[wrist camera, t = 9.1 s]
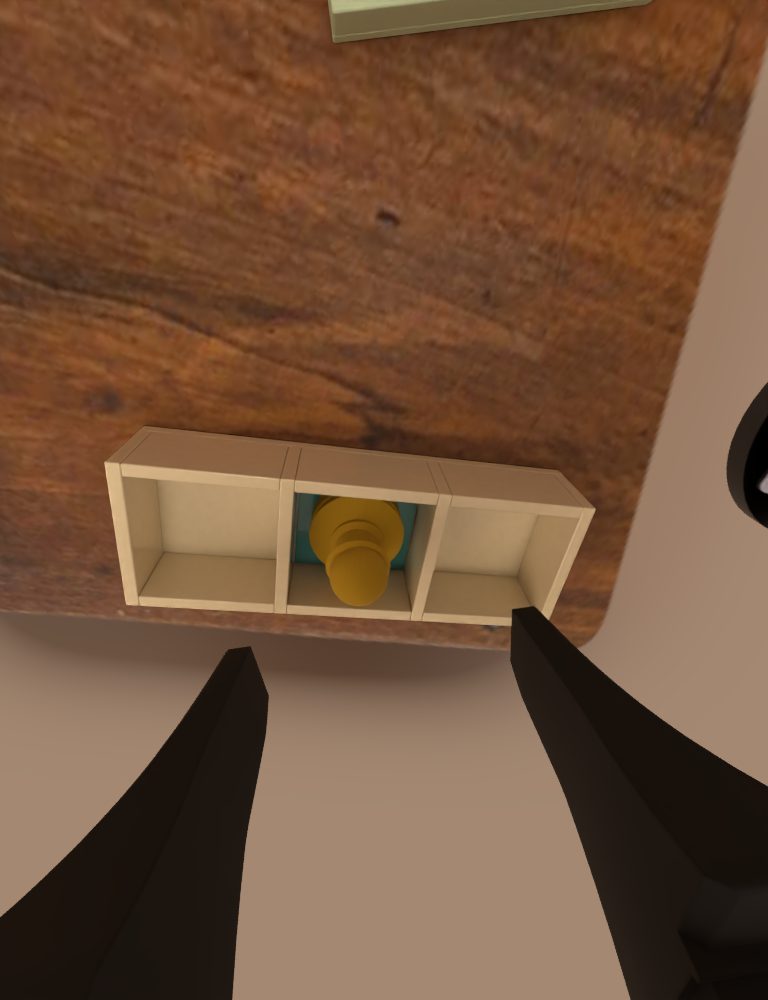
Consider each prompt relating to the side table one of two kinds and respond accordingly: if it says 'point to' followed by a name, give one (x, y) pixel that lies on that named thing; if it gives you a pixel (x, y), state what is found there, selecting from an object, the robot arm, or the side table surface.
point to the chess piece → (356, 544)
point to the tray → (446, 14)
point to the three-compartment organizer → (287, 519)
